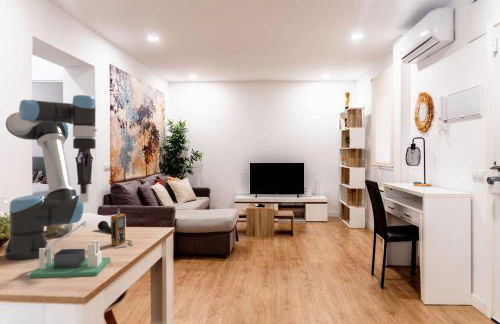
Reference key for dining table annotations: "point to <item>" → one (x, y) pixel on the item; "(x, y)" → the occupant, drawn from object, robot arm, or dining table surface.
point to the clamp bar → (65, 236)
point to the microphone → (104, 226)
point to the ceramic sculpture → (57, 230)
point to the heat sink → (69, 258)
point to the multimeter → (118, 228)
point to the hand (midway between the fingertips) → (84, 202)
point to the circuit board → (88, 268)
